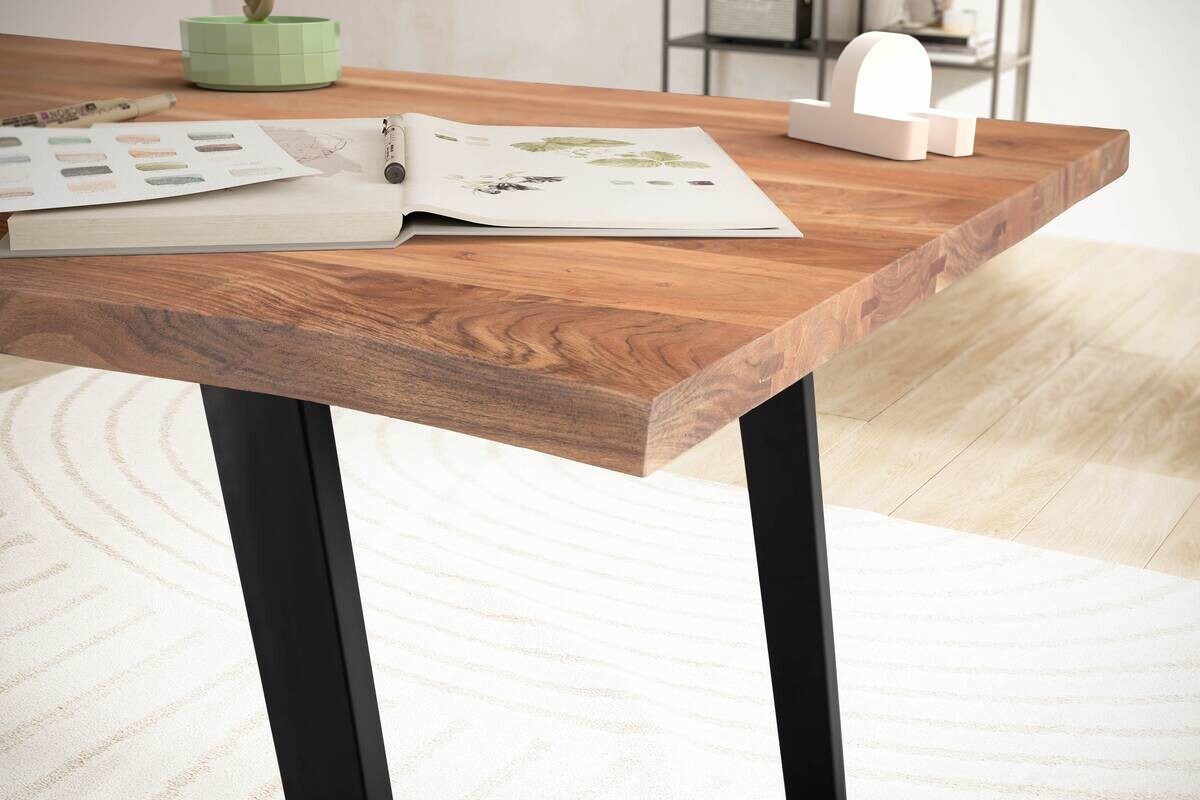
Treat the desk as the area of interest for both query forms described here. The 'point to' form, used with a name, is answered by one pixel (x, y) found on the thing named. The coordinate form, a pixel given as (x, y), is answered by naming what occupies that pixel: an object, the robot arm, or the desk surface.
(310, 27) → the green round bowl
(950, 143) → the slotted bracket
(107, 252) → the desk surface
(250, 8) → the snail figurine
